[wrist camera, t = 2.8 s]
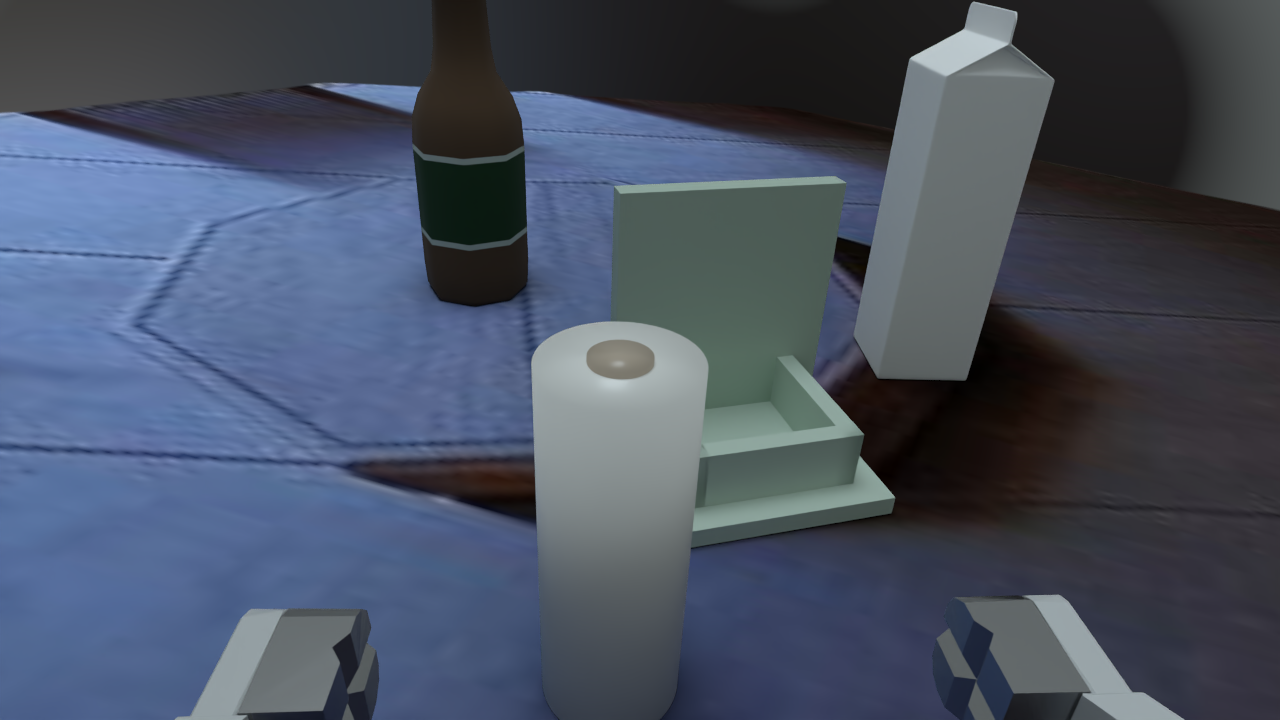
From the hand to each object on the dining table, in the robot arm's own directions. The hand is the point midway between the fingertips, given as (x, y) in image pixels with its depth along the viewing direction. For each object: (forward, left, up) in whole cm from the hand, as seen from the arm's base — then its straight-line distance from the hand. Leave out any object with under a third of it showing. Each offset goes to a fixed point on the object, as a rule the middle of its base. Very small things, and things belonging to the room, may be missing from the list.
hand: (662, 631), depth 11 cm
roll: (-3, +12, -17) cm, 21 cm away
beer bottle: (-20, +45, -17) cm, 52 cm away
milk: (+12, +41, -17) cm, 46 cm away
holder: (+1, +27, -17) cm, 32 cm away
